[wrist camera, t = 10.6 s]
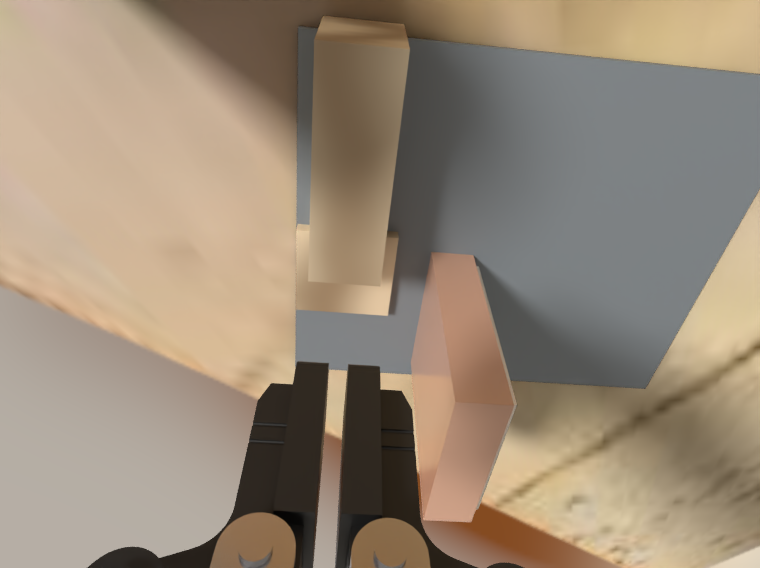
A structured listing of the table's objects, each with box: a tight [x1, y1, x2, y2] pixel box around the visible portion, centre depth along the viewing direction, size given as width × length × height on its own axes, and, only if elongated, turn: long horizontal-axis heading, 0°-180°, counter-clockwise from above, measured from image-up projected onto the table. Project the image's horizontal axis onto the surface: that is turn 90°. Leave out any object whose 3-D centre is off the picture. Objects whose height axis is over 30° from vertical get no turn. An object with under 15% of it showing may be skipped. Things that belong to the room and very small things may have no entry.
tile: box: [411, 252, 517, 522], centre depth 26 cm, size 2×8×10 cm, turn 174°
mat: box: [295, 26, 760, 389], centre depth 28 cm, size 22×19×1 cm
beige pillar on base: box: [296, 16, 410, 316], centre depth 24 cm, size 5×14×4 cm, turn 174°
